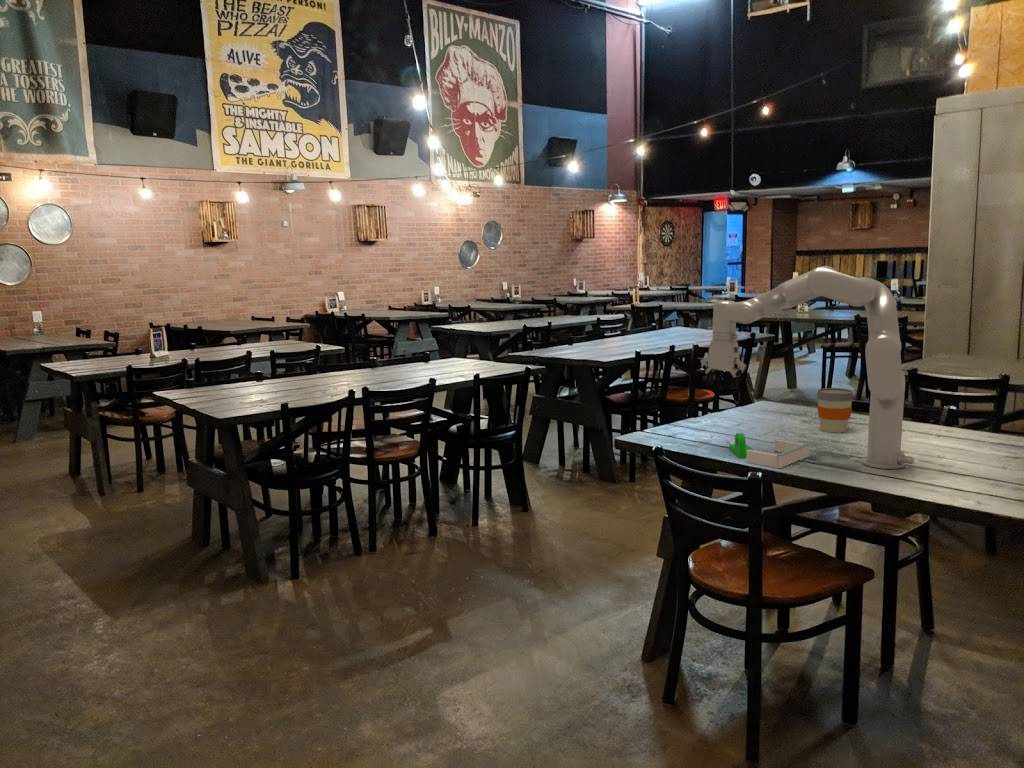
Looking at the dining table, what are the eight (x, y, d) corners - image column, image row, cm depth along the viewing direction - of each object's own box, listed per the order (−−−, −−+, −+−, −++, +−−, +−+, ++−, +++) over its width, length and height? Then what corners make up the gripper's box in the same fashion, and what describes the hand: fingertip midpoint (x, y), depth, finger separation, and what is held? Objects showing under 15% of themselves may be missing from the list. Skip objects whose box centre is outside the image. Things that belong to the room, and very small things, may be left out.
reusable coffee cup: (857, 433, 289) (859, 393, 287) (822, 434, 290) (824, 394, 287) (843, 426, 302) (845, 387, 299) (810, 426, 302) (812, 388, 300)
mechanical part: (757, 458, 260) (757, 435, 259) (739, 459, 260) (739, 435, 259) (746, 449, 272) (746, 427, 271) (729, 450, 272) (729, 427, 271)
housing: (809, 456, 260) (809, 443, 259) (780, 468, 247) (780, 455, 246) (776, 450, 269) (776, 438, 268) (746, 462, 255) (746, 449, 255)
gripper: (752, 338, 263) (750, 388, 266) (708, 334, 276) (707, 382, 279) (740, 340, 258) (738, 391, 261) (695, 335, 271) (694, 384, 274)
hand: (722, 386), depth 270 cm, fingers open, 9 cm apart
